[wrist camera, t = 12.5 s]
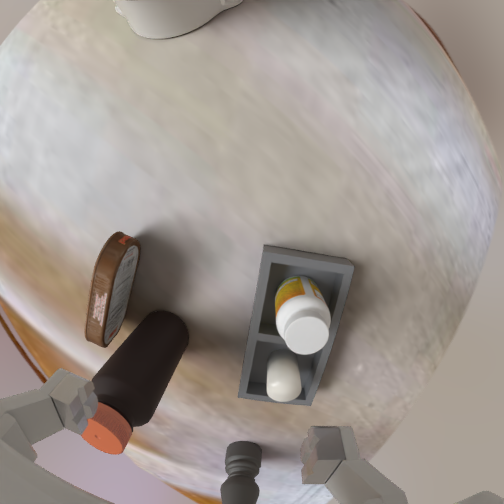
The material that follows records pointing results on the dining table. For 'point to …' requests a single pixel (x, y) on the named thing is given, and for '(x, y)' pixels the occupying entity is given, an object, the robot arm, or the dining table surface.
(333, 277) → the caddy
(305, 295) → the supplement bottle
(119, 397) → the vinegar
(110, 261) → the tin
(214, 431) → the dining table surface
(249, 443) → the candle holder
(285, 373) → the shaker
